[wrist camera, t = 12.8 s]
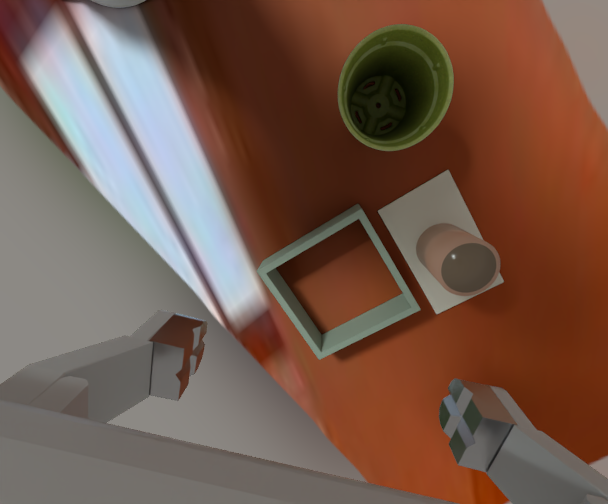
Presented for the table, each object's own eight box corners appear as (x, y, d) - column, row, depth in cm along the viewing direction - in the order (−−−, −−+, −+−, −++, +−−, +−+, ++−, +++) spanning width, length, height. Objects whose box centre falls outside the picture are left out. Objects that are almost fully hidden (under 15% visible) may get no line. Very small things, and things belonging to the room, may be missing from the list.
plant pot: (435, 124, 34) (471, 113, 25) (358, 167, 36) (368, 170, 27) (399, 39, 32) (426, -3, 23) (319, 90, 33) (317, 68, 25)
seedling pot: (407, 239, 37) (426, 258, 30) (453, 213, 36) (485, 227, 29) (429, 278, 39) (452, 306, 31) (475, 255, 37) (510, 278, 30)
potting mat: (377, 210, 37) (377, 211, 37) (447, 169, 35) (448, 169, 35) (436, 313, 40) (436, 314, 40) (503, 281, 38) (504, 281, 38)
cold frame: (263, 260, 40) (256, 271, 36) (358, 203, 37) (361, 208, 33) (319, 341, 43) (319, 359, 39) (411, 295, 40) (420, 309, 36)
